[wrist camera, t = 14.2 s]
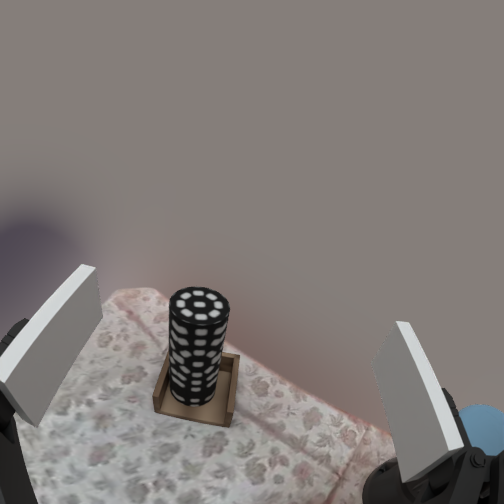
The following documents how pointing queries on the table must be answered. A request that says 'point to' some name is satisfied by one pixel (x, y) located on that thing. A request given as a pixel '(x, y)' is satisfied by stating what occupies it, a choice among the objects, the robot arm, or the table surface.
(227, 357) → the tray
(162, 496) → the table surface
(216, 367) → the white-spotted black cylinder
